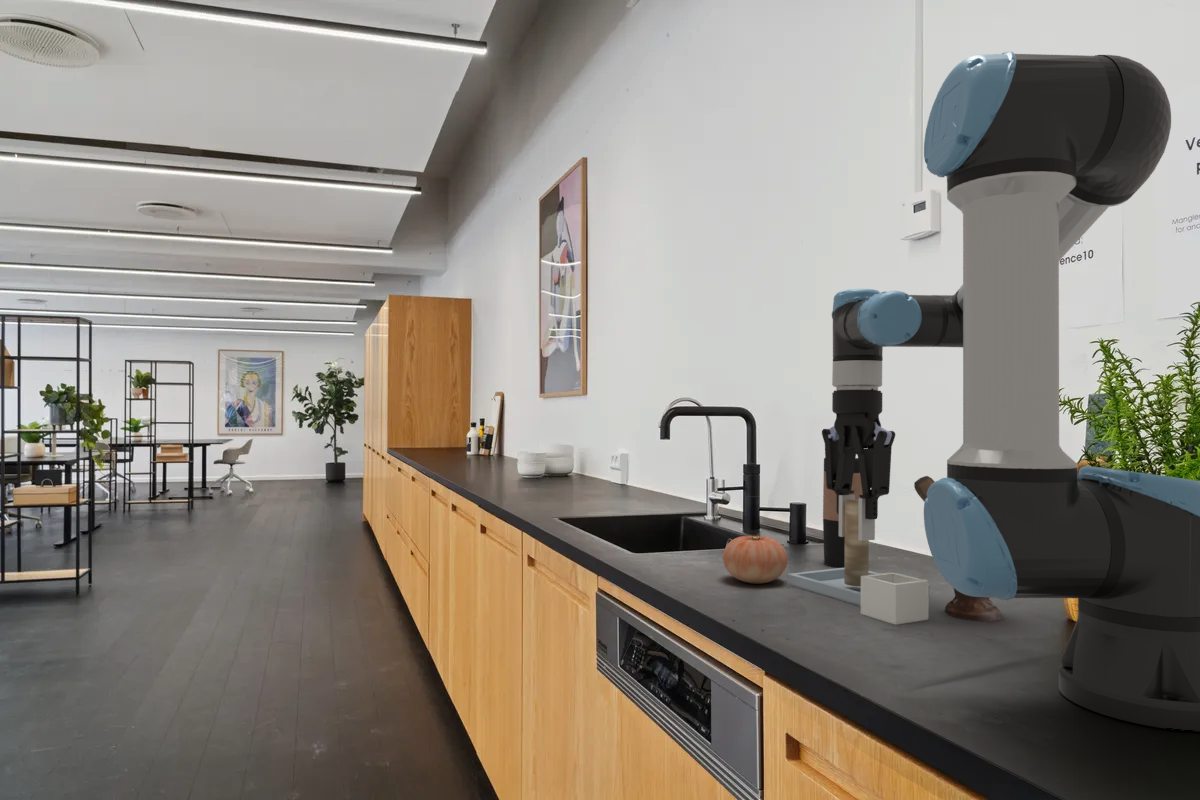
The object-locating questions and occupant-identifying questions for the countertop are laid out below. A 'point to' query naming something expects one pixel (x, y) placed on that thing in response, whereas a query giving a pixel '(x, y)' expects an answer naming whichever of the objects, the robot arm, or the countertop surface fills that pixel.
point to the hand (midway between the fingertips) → (856, 537)
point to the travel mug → (836, 521)
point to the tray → (827, 584)
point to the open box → (894, 598)
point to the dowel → (854, 547)
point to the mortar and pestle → (961, 603)
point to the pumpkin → (755, 559)
